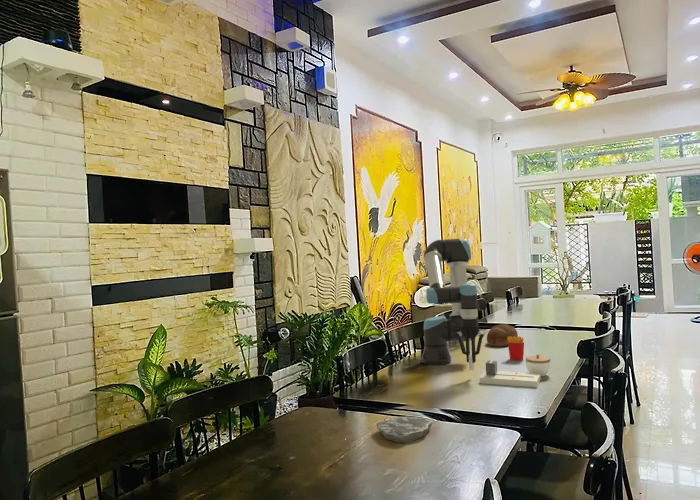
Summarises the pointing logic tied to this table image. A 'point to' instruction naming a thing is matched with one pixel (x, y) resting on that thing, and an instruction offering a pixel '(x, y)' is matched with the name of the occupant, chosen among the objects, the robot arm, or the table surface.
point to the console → (511, 378)
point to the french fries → (516, 348)
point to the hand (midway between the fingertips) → (471, 369)
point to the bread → (500, 335)
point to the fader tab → (491, 367)
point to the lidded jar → (538, 364)
